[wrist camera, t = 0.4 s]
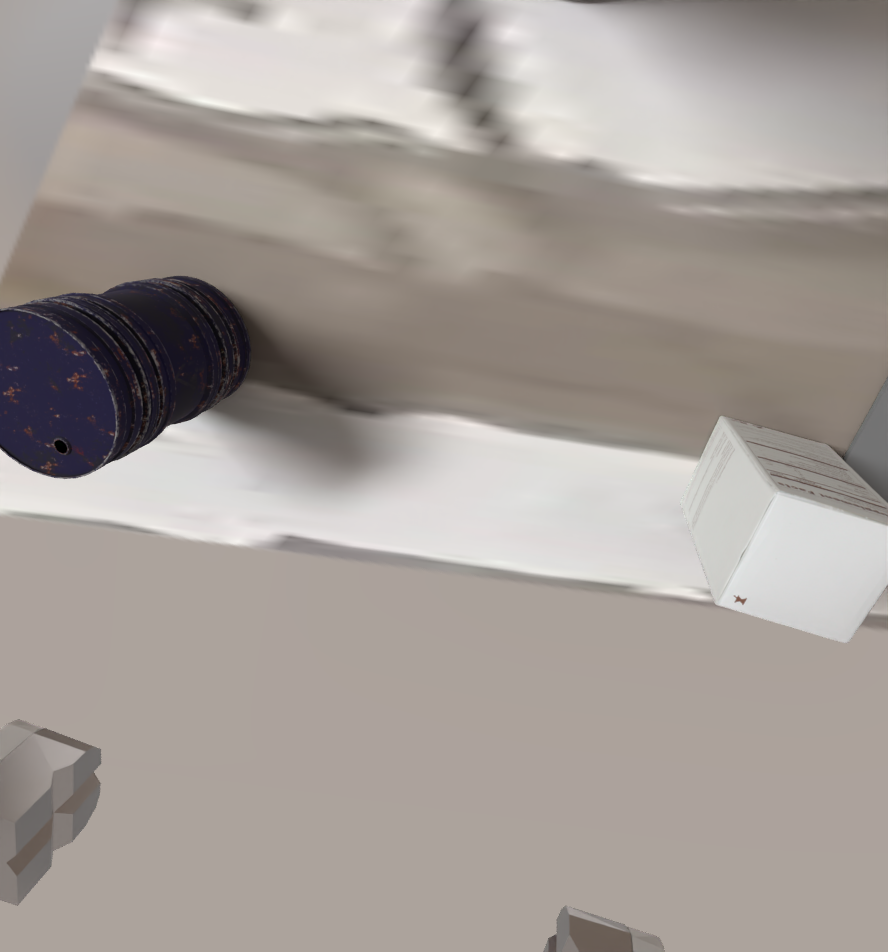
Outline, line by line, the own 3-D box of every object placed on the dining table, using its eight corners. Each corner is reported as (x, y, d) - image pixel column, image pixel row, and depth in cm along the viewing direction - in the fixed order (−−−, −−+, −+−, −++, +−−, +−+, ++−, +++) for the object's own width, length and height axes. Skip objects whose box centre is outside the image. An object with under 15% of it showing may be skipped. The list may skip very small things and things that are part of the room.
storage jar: (113, 288, 46) (-77, 325, 33) (224, 260, 43) (67, 287, 30) (164, 412, 50) (12, 491, 36) (269, 393, 47) (147, 469, 34)
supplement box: (778, 533, 44) (847, 650, 32) (676, 503, 44) (710, 607, 33) (831, 442, 40) (929, 536, 29) (720, 410, 41) (774, 490, 30)
